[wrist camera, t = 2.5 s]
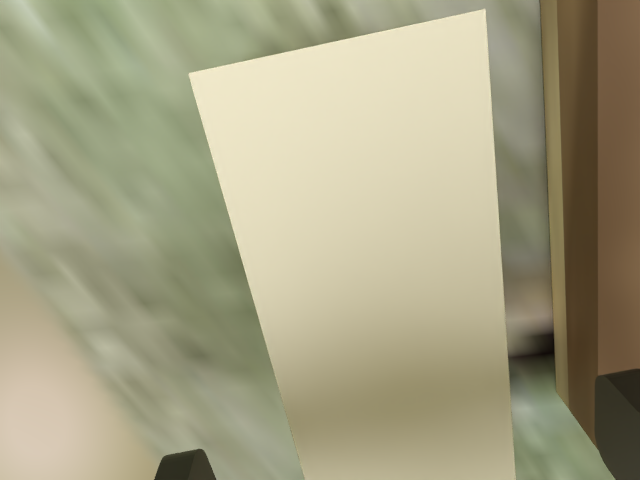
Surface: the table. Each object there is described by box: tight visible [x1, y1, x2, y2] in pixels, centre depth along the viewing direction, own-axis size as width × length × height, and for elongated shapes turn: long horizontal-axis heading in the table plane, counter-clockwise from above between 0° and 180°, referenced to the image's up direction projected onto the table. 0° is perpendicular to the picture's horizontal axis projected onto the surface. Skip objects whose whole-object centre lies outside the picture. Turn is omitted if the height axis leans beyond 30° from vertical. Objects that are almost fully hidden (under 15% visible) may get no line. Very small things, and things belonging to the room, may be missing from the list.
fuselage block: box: [188, 9, 516, 480], centre depth 14 cm, size 5×16×7 cm, turn 11°
